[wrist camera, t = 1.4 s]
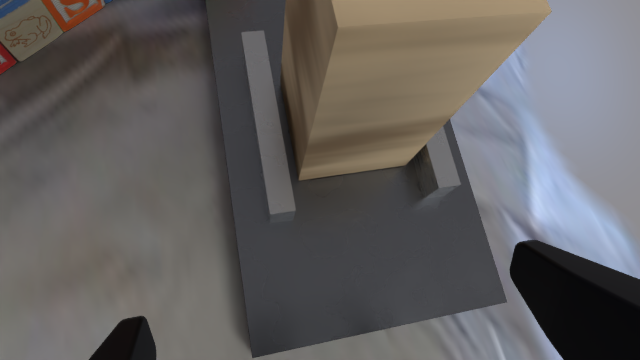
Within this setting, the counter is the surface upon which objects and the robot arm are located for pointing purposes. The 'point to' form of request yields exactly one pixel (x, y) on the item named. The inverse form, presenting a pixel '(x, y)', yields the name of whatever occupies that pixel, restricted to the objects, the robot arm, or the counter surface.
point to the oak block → (388, 73)
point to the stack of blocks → (38, 25)
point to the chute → (336, 212)
